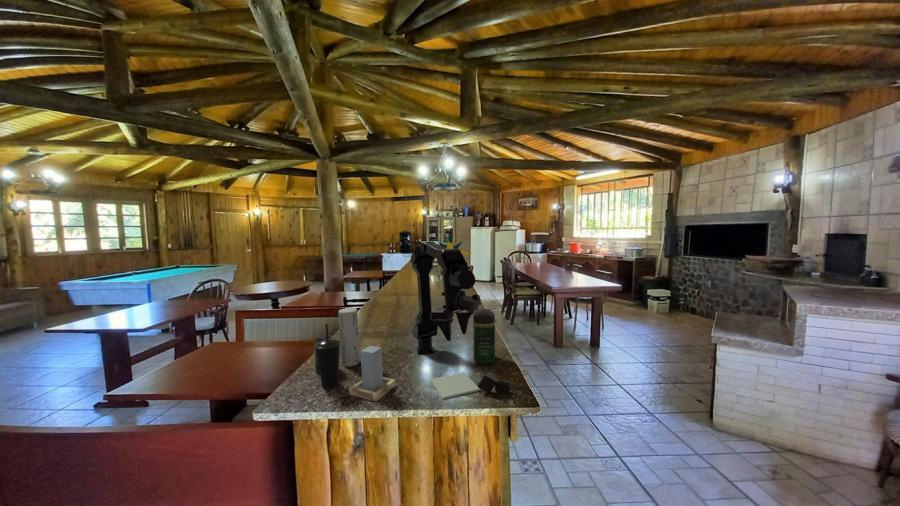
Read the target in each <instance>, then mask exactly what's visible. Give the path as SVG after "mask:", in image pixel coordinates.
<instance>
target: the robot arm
mask: <svg viewBox="0 0 900 506" xmlns="http://www.w3.org/2000/svg"><path fill="white" fill-rule="evenodd" d="M435 259H436V264H437V265H439V267H440V268H441V271H440V275H442V283H443V285H442V286H443V291H442V292H441V297H444V304H443V305H442V308H441V307H440V308H439V307H438V308H435V309H432V298H431V284H430V273H431V272H432V269H433V268H434V261H435ZM410 263H411V267H412V270H413V271H414V272H415V274H416V277H417V278H416V279H417V281H416V282H417V293H418V295H417V296H418V309H419V310H418V313H417V315H416V318H415V324H414V327H412V328H413V329H412V331H411V332H412V337H414V338H415V339H416V340H417V346H416V352H417V355H425V354H434V353H435V350H434V346H433V337H434V336H437V335H438V329H440V330H441V332H442V334H443V336H444V337H445V339H446V341H447V342H451V340H452V325H451V324H452V323H453V322H454V320H455V318H454V314H455V315H456V319H457V321H458V324H459V325H458V326H459V328H460V330H461V331H460V332H461V334H462V335H467V330H468V326H469V321H470V317H471V316H473V315H474V313H475V312H476V311H477V310H479V306H482V302H481V296H480V295H479V294H477V293H476V294H473V295H471V296H470V295H469V296H468V295H467V294H466V291H465V290H470V289H472V288H473V287H474V286H475V284H476V276H475V273H474V272H473V271H471V270H469V266H468V262H467V261H466V259H465V257H464V254H463V253H462V252H461V250H460V249H459V248H446V247H444V246H442V245H440V244H438V243H436V242H435V241H423V242H421V243H420V244H419V246H418V247H416V248H415V249H414V250H413V251H412V253H411V255H410Z"/></svg>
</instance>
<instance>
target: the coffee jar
mask: <svg viewBox="0 0 900 506" xmlns="http://www.w3.org/2000/svg"><path fill="white" fill-rule="evenodd" d="M472 318H473V361H474V363H476V364H480V365H484V366H485V365H491V364H494V362H495V360H496V320H495V318H496V317H495V312H494V311H492V310H491V309H489V308H478V310H477V311H475V312H474V313H473V314H472Z"/></svg>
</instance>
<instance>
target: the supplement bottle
mask: <svg viewBox="0 0 900 506" xmlns="http://www.w3.org/2000/svg"><path fill="white" fill-rule="evenodd" d="M325 339H326V334H321V335H318V336H317V337H316V339H315V340H316V343H318V342H320V341H322V340H325ZM328 339H332V336H331V335H330V334H328ZM316 343H315V344H316ZM313 355H314V370H315V372H316V373H318V374H320V371H319V365H318V359H317V353H316V348H315V346H314V347H313Z"/></svg>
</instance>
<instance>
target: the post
mask: <svg viewBox="0 0 900 506" xmlns="http://www.w3.org/2000/svg"><path fill="white" fill-rule="evenodd" d="M382 351H383V349H382V347H380V346H372V345H369V346H367V347H365V348H364V349H361V350H360V363H361V365H360V367H361V380H362V387H363V388H362V389H364V390H368V391H372V392H376V391H377V390H379V389H380V388H381V387H383V386H384V385H383V377H384V374H383V373H384V372H383V352H382Z"/></svg>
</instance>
